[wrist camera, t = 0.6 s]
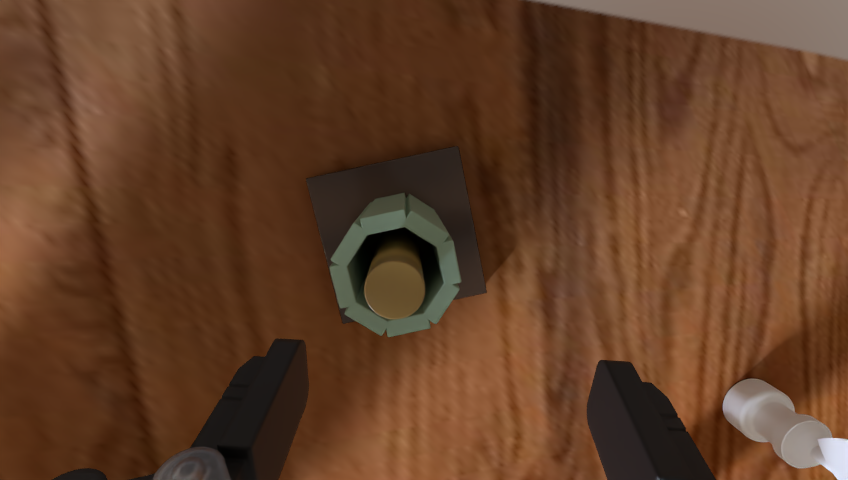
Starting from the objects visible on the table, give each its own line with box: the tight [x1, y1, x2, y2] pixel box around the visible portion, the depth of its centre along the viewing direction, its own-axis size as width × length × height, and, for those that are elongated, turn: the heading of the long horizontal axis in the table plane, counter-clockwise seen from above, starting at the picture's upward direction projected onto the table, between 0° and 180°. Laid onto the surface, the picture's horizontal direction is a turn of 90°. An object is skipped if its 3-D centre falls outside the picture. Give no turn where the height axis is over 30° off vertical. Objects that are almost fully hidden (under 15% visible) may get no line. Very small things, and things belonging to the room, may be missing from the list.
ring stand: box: [306, 146, 487, 324], centre depth 25 cm, size 10×10×14 cm
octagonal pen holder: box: [330, 193, 461, 337], centre depth 25 cm, size 6×6×10 cm
